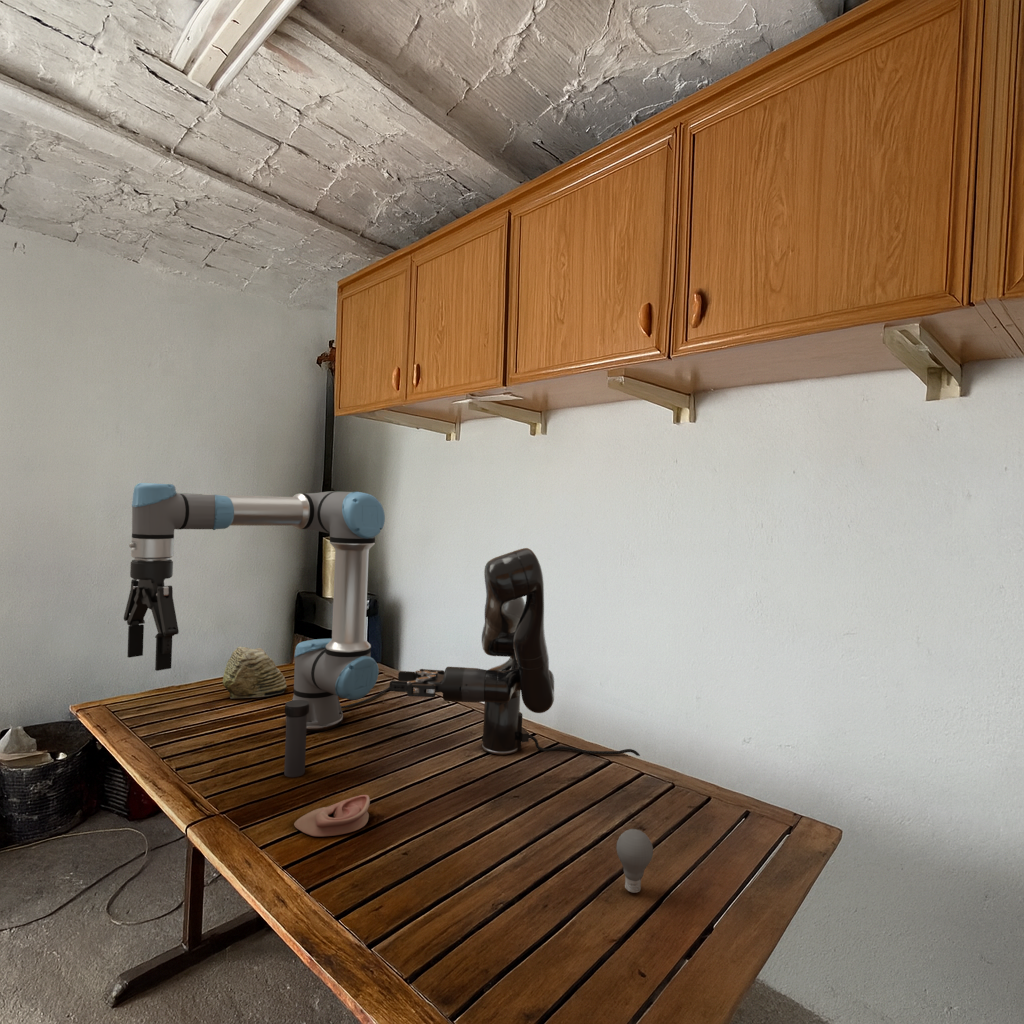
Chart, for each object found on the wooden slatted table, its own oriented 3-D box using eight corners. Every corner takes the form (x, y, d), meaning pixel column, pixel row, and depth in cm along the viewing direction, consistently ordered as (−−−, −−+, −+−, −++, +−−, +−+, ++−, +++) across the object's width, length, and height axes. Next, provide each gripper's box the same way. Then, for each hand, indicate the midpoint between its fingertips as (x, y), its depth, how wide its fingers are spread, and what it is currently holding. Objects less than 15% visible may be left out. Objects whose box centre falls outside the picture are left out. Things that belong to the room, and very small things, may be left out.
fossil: (218, 695, 195) (220, 647, 195) (278, 685, 208) (279, 640, 207) (228, 703, 189) (230, 653, 188) (289, 692, 201) (290, 645, 201)
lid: (281, 716, 142) (281, 706, 142) (289, 708, 147) (290, 699, 147) (304, 717, 142) (304, 707, 142) (312, 709, 147) (312, 700, 147)
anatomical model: (285, 811, 119) (316, 784, 130) (285, 832, 119) (316, 803, 130) (351, 821, 116) (377, 793, 127) (350, 842, 116) (376, 813, 128)
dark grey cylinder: (281, 776, 142) (283, 708, 142) (288, 768, 147) (291, 701, 146) (300, 777, 142) (303, 709, 142) (307, 769, 147) (310, 702, 146)
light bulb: (610, 879, 108) (613, 822, 108) (644, 879, 109) (647, 822, 109) (619, 902, 102) (622, 840, 102) (655, 901, 103) (658, 840, 103)
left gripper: (108, 554, 134) (104, 654, 134) (159, 565, 118) (155, 678, 119) (146, 552, 140) (143, 648, 140) (199, 563, 124) (195, 671, 124)
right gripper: (469, 660, 150) (401, 657, 150) (462, 675, 135) (387, 671, 136) (468, 692, 150) (400, 688, 150) (460, 711, 135) (385, 706, 136)
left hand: (148, 662), depth 129 cm, fingers open, 13 cm apart
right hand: (394, 680), depth 143 cm, fingers open, 8 cm apart
